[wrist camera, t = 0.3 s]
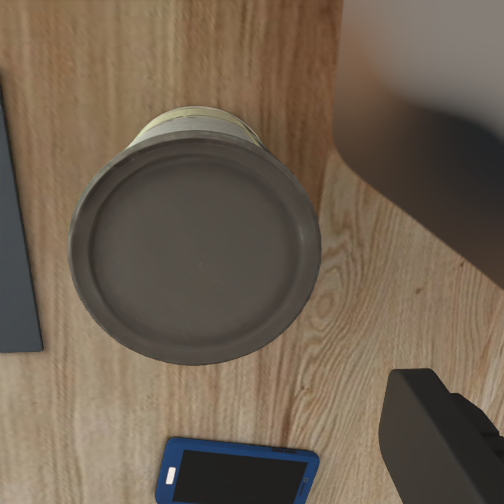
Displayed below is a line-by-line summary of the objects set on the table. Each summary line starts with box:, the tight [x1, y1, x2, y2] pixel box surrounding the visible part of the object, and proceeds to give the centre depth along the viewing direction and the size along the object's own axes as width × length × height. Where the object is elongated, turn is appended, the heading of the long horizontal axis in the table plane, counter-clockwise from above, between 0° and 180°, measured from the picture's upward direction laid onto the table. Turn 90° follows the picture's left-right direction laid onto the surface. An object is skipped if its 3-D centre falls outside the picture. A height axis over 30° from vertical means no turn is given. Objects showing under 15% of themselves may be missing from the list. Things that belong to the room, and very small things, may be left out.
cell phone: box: [155, 438, 320, 504], centre depth 42 cm, size 7×14×1 cm, turn 77°
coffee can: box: [67, 106, 321, 366], centre depth 25 cm, size 10×10×14 cm
